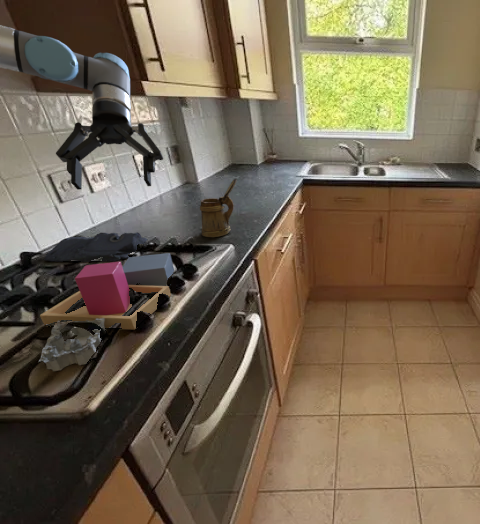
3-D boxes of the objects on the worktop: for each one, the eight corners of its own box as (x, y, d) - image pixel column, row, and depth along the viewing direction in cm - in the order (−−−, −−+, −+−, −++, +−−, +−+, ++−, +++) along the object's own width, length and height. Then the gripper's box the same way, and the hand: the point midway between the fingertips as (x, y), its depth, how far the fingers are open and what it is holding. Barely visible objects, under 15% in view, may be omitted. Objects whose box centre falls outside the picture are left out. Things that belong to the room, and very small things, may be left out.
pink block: (90, 318, 66) (74, 278, 62) (99, 302, 71) (85, 265, 67) (125, 312, 68) (112, 273, 64) (132, 297, 73) (120, 261, 69)
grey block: (125, 292, 76) (118, 273, 74) (134, 275, 84) (128, 257, 82) (169, 286, 79) (164, 267, 77) (174, 270, 87) (169, 252, 85)
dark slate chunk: (77, 241, 102) (72, 227, 100) (153, 241, 104) (149, 226, 102) (37, 263, 88) (30, 246, 86) (126, 261, 90) (120, 245, 88)
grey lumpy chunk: (65, 336, 62) (57, 318, 60) (113, 328, 64) (106, 310, 63) (38, 376, 53) (28, 356, 51) (95, 364, 55) (87, 345, 54)
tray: (44, 326, 64) (39, 315, 63) (95, 293, 76) (91, 283, 74) (134, 329, 64) (130, 318, 63) (171, 295, 75) (168, 286, 74)
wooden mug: (244, 234, 112) (237, 180, 104) (200, 238, 107) (189, 182, 99) (244, 226, 119) (236, 175, 111) (202, 229, 115) (192, 177, 107)
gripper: (173, 122, 89) (178, 190, 83) (57, 121, 80) (54, 196, 74) (165, 100, 82) (170, 172, 76) (38, 96, 74) (32, 177, 68)
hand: (113, 184), depth 75 cm, fingers open, 13 cm apart
